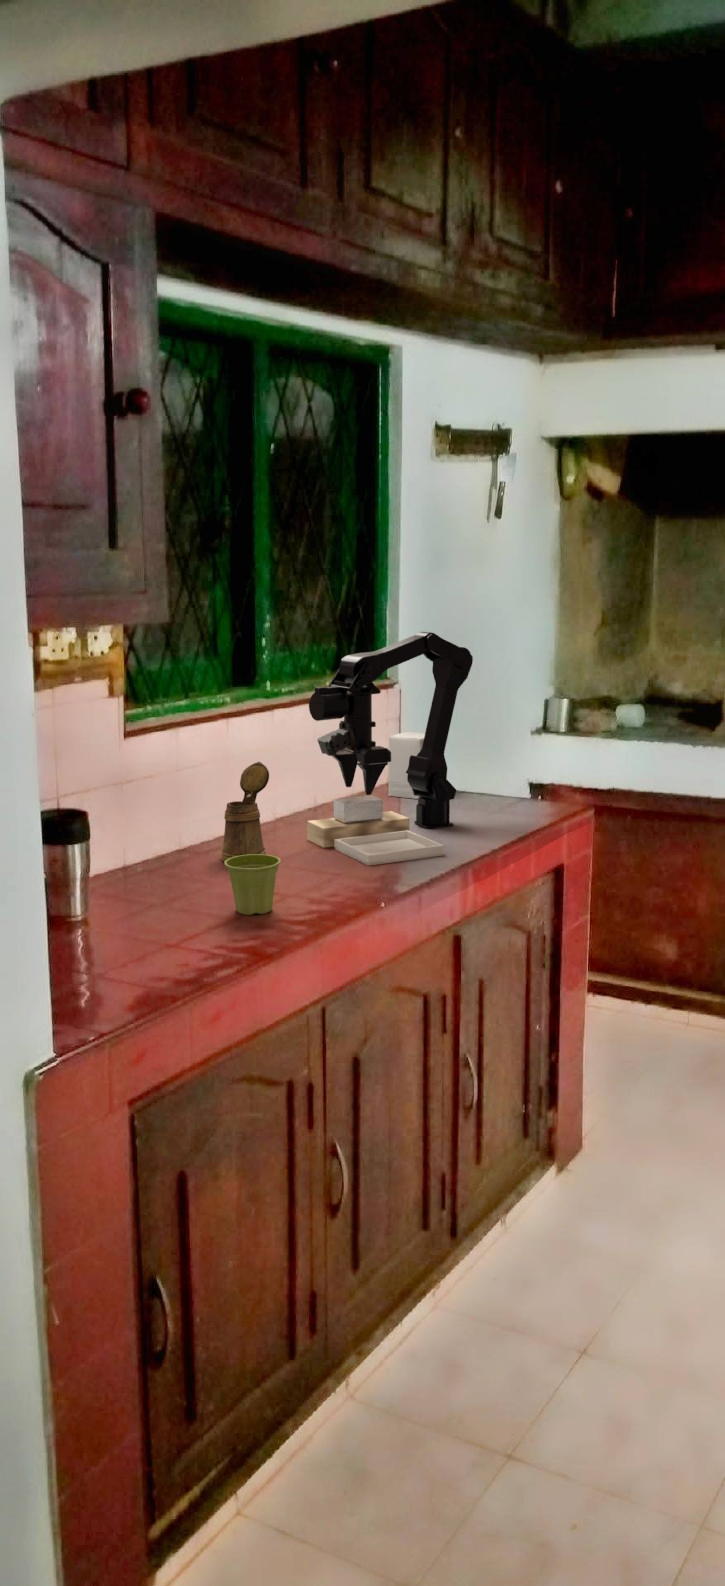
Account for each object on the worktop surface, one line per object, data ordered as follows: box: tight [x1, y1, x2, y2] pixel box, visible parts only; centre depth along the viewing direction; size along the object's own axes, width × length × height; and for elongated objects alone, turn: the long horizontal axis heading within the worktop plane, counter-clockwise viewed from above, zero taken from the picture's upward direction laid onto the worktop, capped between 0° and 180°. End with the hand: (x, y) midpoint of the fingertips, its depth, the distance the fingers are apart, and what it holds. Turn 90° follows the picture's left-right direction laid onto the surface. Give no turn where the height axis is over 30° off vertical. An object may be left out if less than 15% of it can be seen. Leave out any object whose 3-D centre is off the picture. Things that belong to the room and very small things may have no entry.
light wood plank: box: [306, 810, 410, 849], centre depth 261 cm, size 20×8×4 cm, turn 117°
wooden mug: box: [221, 761, 270, 863], centre depth 246 cm, size 9×14×18 cm, turn 161°
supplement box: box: [388, 731, 425, 800], centre depth 304 cm, size 9×9×15 cm
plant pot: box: [224, 854, 282, 916], centre depth 210 cm, size 9×9×9 cm
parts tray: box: [333, 830, 445, 866], centre depth 250 cm, size 17×15×2 cm
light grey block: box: [333, 794, 384, 823], centre depth 260 cm, size 9×5×4 cm, turn 117°
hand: (358, 790), depth 260 cm, fingers open, 9 cm apart
